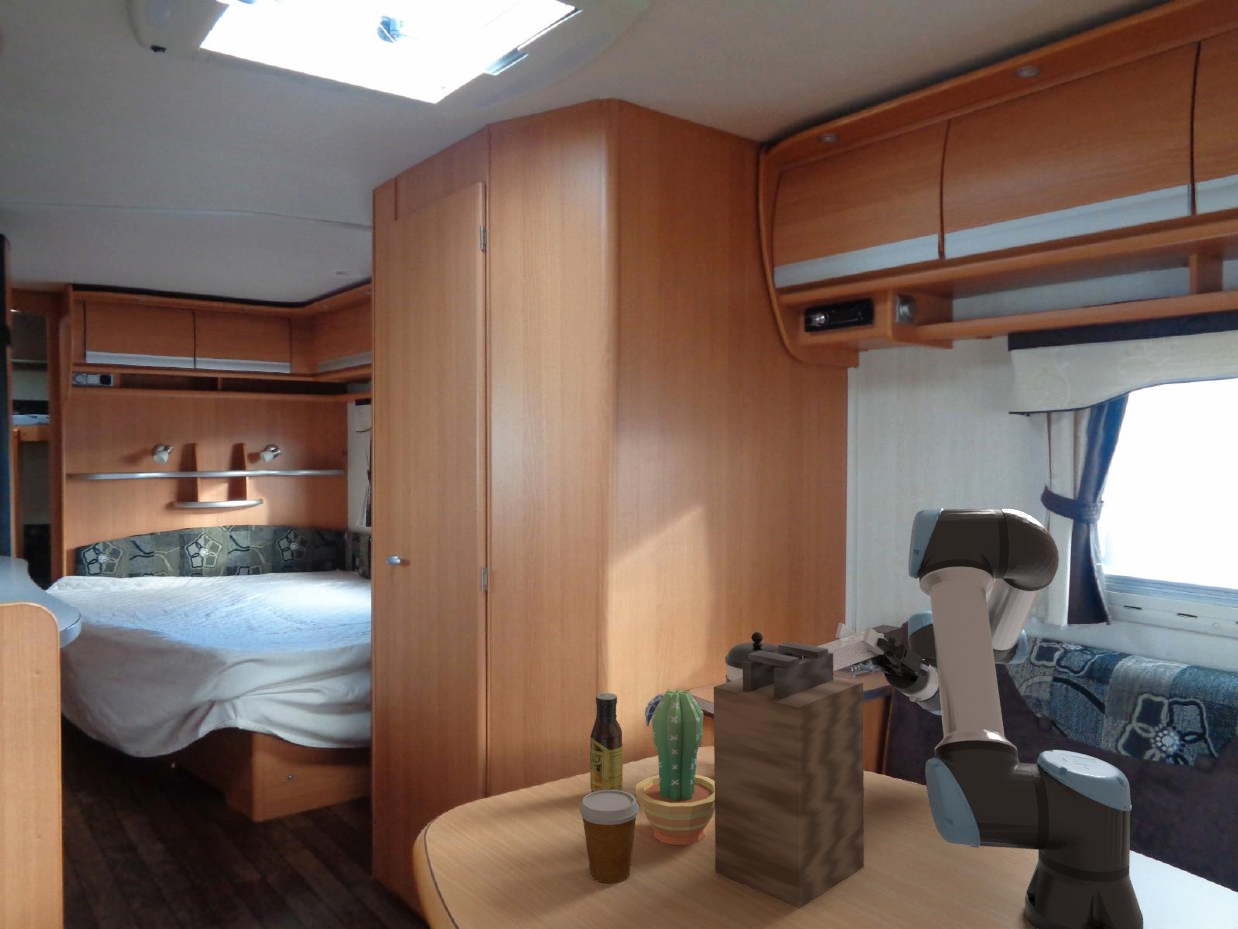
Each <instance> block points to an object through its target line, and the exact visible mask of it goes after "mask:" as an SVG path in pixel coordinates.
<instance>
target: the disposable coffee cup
mask: <svg viewBox="0 0 1238 929" xmlns="http://www.w3.org/2000/svg"><path fill="white" fill-rule="evenodd" d="M639 805H640V804H639V803H638V801H637V797H635V795H634V794H632V793H630V792H627V791H625V790H622V791H620V790H600V791H596V792H592V793H591V792H589V793H588V794H586V795H585V796H584V797H583V798H582V801H581V804H580V805H579V813H580V814H581V815H580V816H581V817H582V822H583V828H584V835H585V842H586V850H587V856H588V865H589V866H588V867H589V872H590V876H592V877H593V878H594V879H593V878H592V877H591V878H592V879H593V880H595V881H596V880H597V882H599V881H600V883H606V884H615V883H619V882H622V881H625V880H627V879H628V878H629V877H630V876H631V874H630V873H631V865H632V856H633V850H634V849H633V848H634V838H635V829H636V820H637V815H638V812H639V811H640V806H639Z"/></svg>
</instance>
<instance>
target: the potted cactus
mask: <svg viewBox="0 0 1238 929" xmlns="http://www.w3.org/2000/svg"><path fill="white" fill-rule="evenodd" d="M644 717H645V726H646V727H647V728H648V727H649V725H650V723H651V727H652V740H653V742H654V745H655V749H656V752H657V759H658V774H657V775H652V776H648V777H645V778H644V779H643V780H641V781H640V782H638V783H637V784H635V795H636V797H635V798H636V802H637V803H638V804H639V805H641V806H642V808H643V812H644V815H645V818H646V820H647V821H648V823H649V824H650V825H651V826H652V828H653V837H654V838H655V839H656V840H658V841H659V842H661V843H664V844H669V845H671V846H672V845H673V846H684V845H685V846H686V845H687V846H688V845H690V844H695V843H698V842H700V841H701V840H702V839H703V838H705V832H704V829H705V828H707V825H708V824H709V823H710V822H711V820H712V819H713V816H714V814H715V780H714V779H712V778H710V777H707V776H704V775H700V774H696V773H697V772H696V771H697V770H696V769H697V768H696V767H697V757H698V756H697V755H698V751H699V747H700V744H701V740H702V738H703V727H704V711H703V710H702V709H701V706H700V705H699V703H698V702H697V701H696V699H695V698H694V697H693V695H692V694H691V692H690V690H685V691H683V690H682V688H677V689H676V690H675V691H674V690H672V689H667V691H665V693H660V694H657V695H655V696H654V697H653V698H651V699H650V701H649V702H648V703H647V706H645V709H644Z"/></svg>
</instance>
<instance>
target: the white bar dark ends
mask: <svg viewBox="0 0 1238 929" xmlns="http://www.w3.org/2000/svg"><path fill="white" fill-rule="evenodd" d="M871 628H872V629H873V630H875V631H876V632H877V633H879V634H880V635H881V636H883V637H884V638H885V639H886V640H887V641H888V642H889V638H894V639H896V642H895V644H896V645H897V646H898V647H899V645H900V644H902V642H903V641H902V640H903V639H902V632H903V631H902V627H899V626H894V625H887V624H881V625H877V626H875V627H871ZM865 631H866V630H864V631H861V632H859V633H857V634H855V635H851V636H848V637H845V638H842V639H836V640H832V641H829V642H826V643H824V644H819V645H817V646H816V647H821V648H826V649H828V652H829V653H833V672H835V671H839V670H841V669H843V668H847V667H849V666H852V665H855V664H857V663H861V661H863V660H866V659H869V658H872V657H875V656H878V655H880V654H879V653H878V652H876V651H875V650H874V649H872V648H871V647H869V646H868V645H867V644H865V643H864V642H863V639H864V635H865ZM885 653H886V652H884V654H885ZM804 658H807V656H802V659H804Z"/></svg>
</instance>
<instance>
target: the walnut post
mask: <svg viewBox="0 0 1238 929" xmlns="http://www.w3.org/2000/svg"><path fill="white" fill-rule="evenodd" d="M803 656H807V658H804V659H803ZM713 738H714V739H713V744H714V745H713V748H714V749H713V753H714V756H713V757H714V759H713V760H714V762H713V763H714V765H713V766H714V781H715V810H714V831H715V832H714V838H715V839H714V848H715V849H714V850H715V852H714V853H715V854H714V858H715V859H714V860H715V873H716V874H718V875H720V876H723V877H726V878H727V879H730V880H733V881H734V882H737V883H739V884H741V885H745V886H747V887H748V888H751V889H753V890H756V891H759V892H761V893H763V894H766V895H768V896H770V897H772V898H775V899H778V900H780V901H782V902H784V903H786V904H789V905H791V906H793V907H796V908H802V907H803V906H805V905H806V904H808V903H810V902H811V901H812V900H814V899H815V898H817V897H819V896H821V895H822V894H823V893H825V892H827V891H828V890H829V889H831V888H833V887H834V886H836V885H837V884H839V883H841V882H842V881H843V880H845V879H847V878H848V877H851V875H853V874H855V873H856V872H857V871H860V870H861V869H862V868H864V866H865V858H864V857H865V854H864V853H865V852H864V851H865V848H864V847H865V835H864V834H865V833H864V831H865V827H864V826H865V825H864V824H865V823H864V820H865V819H864V818H865V816H864V814H865V812H864V807H865V804H864V803H865V801H864V799H865V798H864V791H865V790H864V785H865V784H864V782H865V780H864V770H865V769H864V763H865V762H864V682H863V681H859V680H858V681H857V680H853V679H849V678H845V677H840V676H839V677H838V676H834V671H833V653H829V652H828V649H826V648H821V647H817V646H814V645H811V644H810V645H809V644H805V643H798V642H793V641H792V642H791V641H787V642H782V643H780V644H778V651H776V652H773V653H771V652H766V651H761V650H759V651H756V652H753V653H749V654H748V660H747V661H744V662H743V677H742V678H739V679H736V680H733V681H730V682H727V683H726V682H724V683H722V684H718V685H715V686H713Z"/></svg>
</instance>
